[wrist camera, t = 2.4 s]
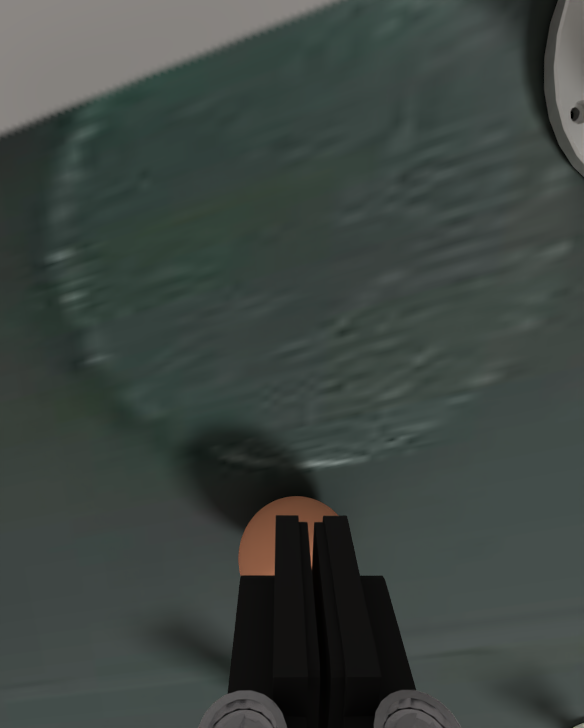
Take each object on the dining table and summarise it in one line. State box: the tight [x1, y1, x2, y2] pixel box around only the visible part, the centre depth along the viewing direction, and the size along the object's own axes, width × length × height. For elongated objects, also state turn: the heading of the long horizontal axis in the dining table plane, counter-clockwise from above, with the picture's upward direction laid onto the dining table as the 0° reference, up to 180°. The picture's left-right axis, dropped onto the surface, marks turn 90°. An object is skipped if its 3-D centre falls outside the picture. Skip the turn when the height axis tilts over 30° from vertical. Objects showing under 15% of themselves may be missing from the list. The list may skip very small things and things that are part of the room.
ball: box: [238, 496, 338, 575], centre depth 24 cm, size 6×6×6 cm
